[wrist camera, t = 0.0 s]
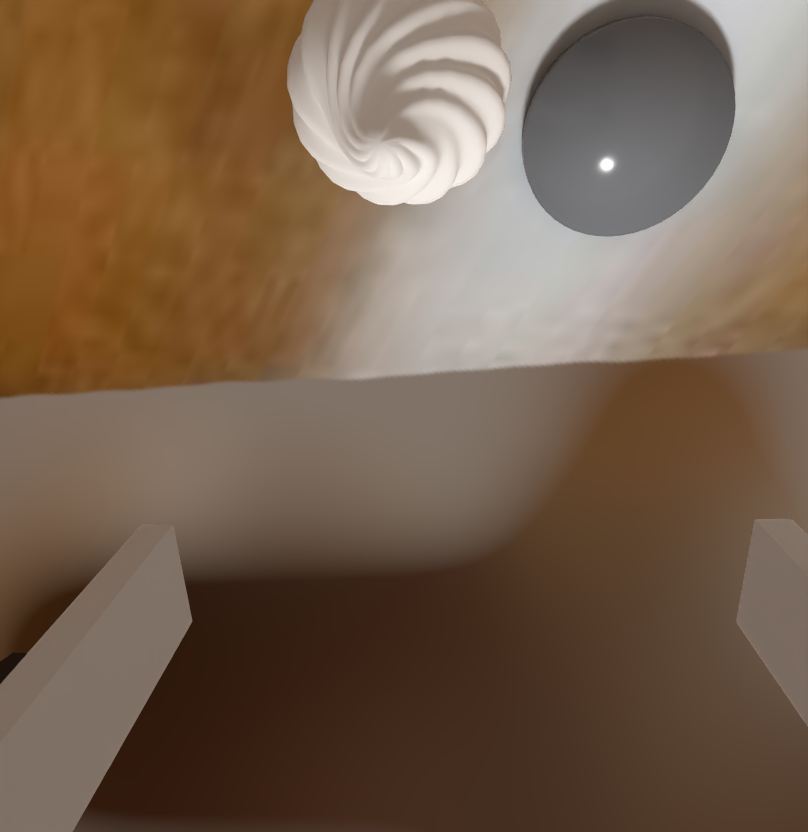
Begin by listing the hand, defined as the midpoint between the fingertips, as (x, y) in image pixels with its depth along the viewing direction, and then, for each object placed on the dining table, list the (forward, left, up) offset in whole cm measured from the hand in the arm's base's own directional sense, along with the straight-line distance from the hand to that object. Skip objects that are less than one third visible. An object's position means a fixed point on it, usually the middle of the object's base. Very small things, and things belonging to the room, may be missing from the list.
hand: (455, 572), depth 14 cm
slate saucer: (-8, +6, -28) cm, 30 cm away
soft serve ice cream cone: (-3, -6, -28) cm, 29 cm away
